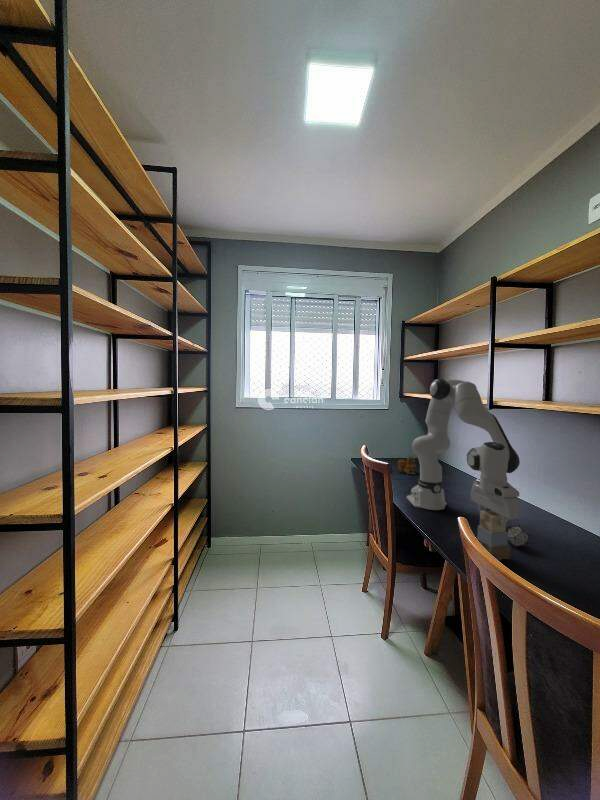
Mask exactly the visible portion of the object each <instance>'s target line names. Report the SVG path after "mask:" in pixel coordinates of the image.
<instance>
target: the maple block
mask: <svg viewBox="0 0 600 800" xmlns="http://www.w3.org/2000/svg"><path fill="white" fill-rule="evenodd" d="M502 519H503V518H501V515H500V514H498V513H496V512H494V511H492V510H488V511H486V510H485V511H480V510H479V526H480V527H482V528H484V529H485V530H487V531H489V532H490V533H499V532H507V530H506V529H507V528H506V527H507V526H506V527H501V526H499V521H502Z"/></svg>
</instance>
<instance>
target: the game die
mask: <svg viewBox="0 0 600 800" xmlns="http://www.w3.org/2000/svg"><path fill="white" fill-rule="evenodd" d="M506 532H508V541H509V543H511V545H513V546H514V549H516V548H517V547H522V546H523V547H524V548H526V545H529V543H528V541H529V537H531V536H532V535H531V534H529V535H528V533H527V532H525V529H522V528H521V527H520V525H519V524H517V526H513V527H512V526H509V525H508V528H506Z"/></svg>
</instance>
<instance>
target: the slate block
mask: <svg viewBox="0 0 600 800" xmlns="http://www.w3.org/2000/svg"><path fill="white" fill-rule="evenodd" d="M477 538H478V539H479V540H481V541H482V542H484V543H486V544H487V545H489V546H490V547H498V546H508V545H509V544H508V541H509V540H508V532H507V531H506V532H499V533H490V532H489V531H487V530H485V529H484V528H482V527H480V525H477Z"/></svg>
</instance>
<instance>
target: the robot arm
mask: <svg viewBox="0 0 600 800" xmlns="http://www.w3.org/2000/svg"><path fill="white" fill-rule="evenodd" d="M429 395H430V397H431V398H430V401H429V403H428V404H429V405H428V408H427V412H426V417H425V421H424V422H425V424H426V426H427V434H425V435H420V436H418V437H416V438H414V440H413V441H412V443H411V449H412V451H413V453H414V454H415V455H416V457H417V458H418V463H419V478H418V477H417V481H418V482H417V485H414V486H413V487H412V488H411V490H410V494H408V495H407V496H406V499H407V500H408V501H409V502H410V503H411V504H412V505H413V506H414V507H415V508H421V509H425V510H430V511H440V510H441V511H442V510H444V509H446V506H447V502H446V500H445V499H446V497H445V490H444V489H443V488H444V486H443V485H444V482H443V467H442V464H440V463H439V460H438V454H439V455H440V454H443V453H445V452H446V451H447V450H449V449H450V446H451V441H450V438H449V436H448V426H449V425H448V424H449V419H450V416H451V412H452V407H453V404H454V408H455V412H456V415H457V417H458V418H459V419H460V420H461V421H463V423H466V424H468V425H472V426H475V427H478V428H480V429H483V430H484V431H486V432H487V433H488V434H489V436H490V438H491V440H492V441H488V442H487V441H486V442H484V443H482V445H481V446H478V447H472V448H471V449H469V451H468V452H467V453H466V463H467V465H468V467H469V468H470V469H471V470H474V471H476V472H480V475H479V476H480V477H479V479H478V478H475V480H474V481H473V482H472V486H471V490H470V499H471V502H474V503H476V504H477V507H478V510H479V512H480V511H486V508H488V509H490V510H492V511H494V512H496V513H498V514H500V515H501V518H503V519H502V521H499V526H501V527H507V522H508V521H509V520H517V519H518V518H519V517H520V508H521V507H520V501H519V499H518V497H520V491H519V490H518V489H516V488H515V487H514V486H512V485H511V484H510V483H509V482H508V476H507V474H512V473H514V472H515V471H516V470H517V469H518V468H519V466H520V461H521V460H520V456H519V455H518V453H517V452H516V450H515V449H514V448H513V446H512V445H511V443H510V440H509V438H508V437H507V435H506V432H504V429H503V428H502V425H501V424H500V421H499V420H498V418H497V417H496V415H494V414H493V413H491V412H490V411H489V410H488V409H487V408H486V406H485V404H484V403H483V401H482V397H481V395H480V392H479V391H478V388H477V386H476V384H474V382H471V381H467V380H466V381H465V380H459V379H447V378H446V379H444V378H437V379H434V380H433V381H432V382H431V383H430V386H429Z"/></svg>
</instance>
